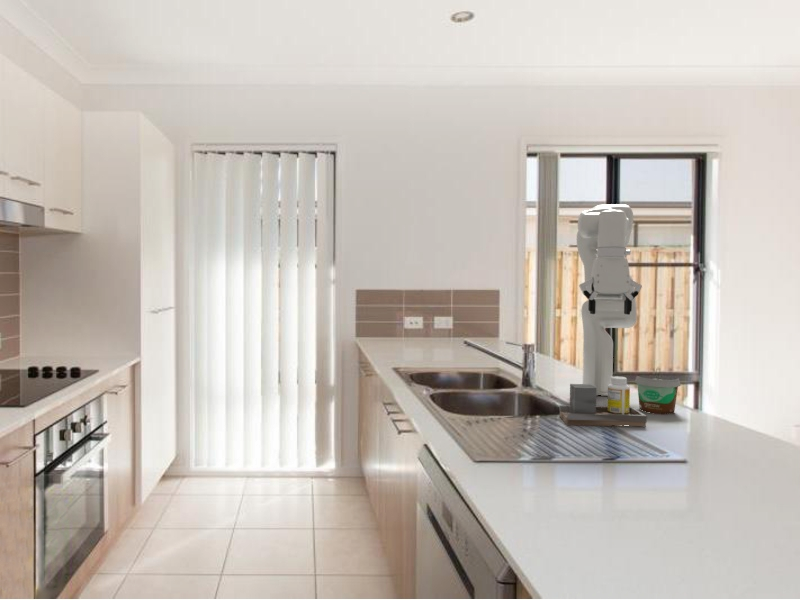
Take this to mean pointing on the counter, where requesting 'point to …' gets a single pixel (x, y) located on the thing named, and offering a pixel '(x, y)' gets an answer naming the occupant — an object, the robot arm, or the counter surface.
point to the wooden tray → (595, 410)
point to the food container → (657, 395)
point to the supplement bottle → (618, 396)
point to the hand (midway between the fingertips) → (609, 314)
